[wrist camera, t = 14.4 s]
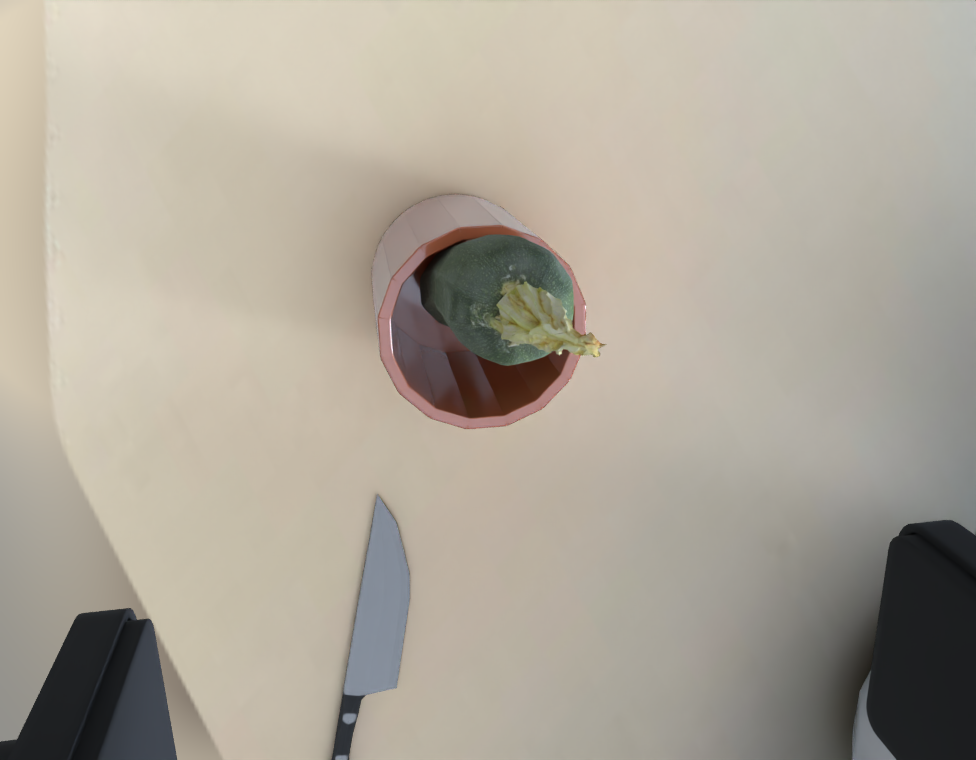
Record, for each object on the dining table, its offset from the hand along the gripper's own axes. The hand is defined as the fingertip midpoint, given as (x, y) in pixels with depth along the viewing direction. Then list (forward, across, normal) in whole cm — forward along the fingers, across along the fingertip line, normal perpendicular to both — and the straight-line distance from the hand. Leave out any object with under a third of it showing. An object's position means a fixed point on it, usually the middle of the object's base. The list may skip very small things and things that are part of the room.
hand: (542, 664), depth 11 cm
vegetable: (+33, -3, +3) cm, 33 cm away
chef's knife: (+34, +2, +24) cm, 41 cm away
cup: (+34, -3, +3) cm, 34 cm away
